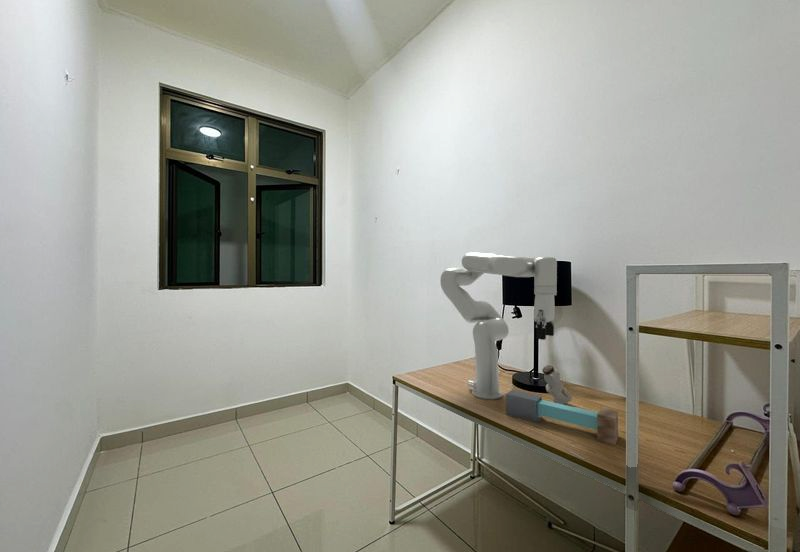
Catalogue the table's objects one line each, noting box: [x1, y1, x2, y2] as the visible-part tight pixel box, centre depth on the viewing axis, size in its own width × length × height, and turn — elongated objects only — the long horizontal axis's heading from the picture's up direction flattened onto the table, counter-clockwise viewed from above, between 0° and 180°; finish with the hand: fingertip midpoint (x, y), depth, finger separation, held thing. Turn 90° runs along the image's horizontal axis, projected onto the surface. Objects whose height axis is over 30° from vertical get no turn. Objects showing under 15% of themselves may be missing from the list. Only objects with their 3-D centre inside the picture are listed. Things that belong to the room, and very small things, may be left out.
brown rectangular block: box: [596, 407, 619, 446], centre depth 99 cm, size 4×7×8 cm, turn 140°
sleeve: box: [505, 389, 543, 424], centre depth 115 cm, size 11×6×8 cm, turn 50°
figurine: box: [542, 365, 573, 405], centre depth 126 cm, size 9×10×15 cm
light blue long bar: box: [537, 399, 599, 431], centre depth 106 cm, size 24×4×4 cm, turn 50°
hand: (545, 337), depth 118 cm, fingers open, 9 cm apart
